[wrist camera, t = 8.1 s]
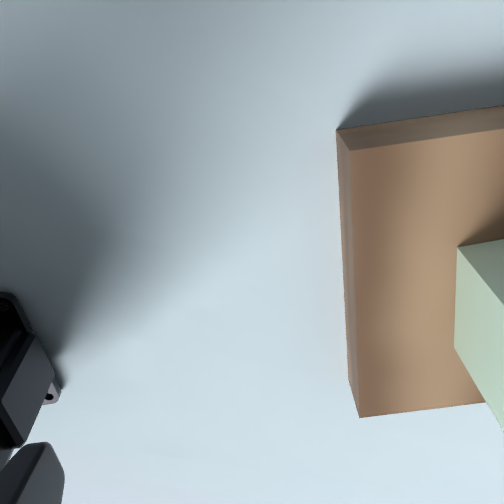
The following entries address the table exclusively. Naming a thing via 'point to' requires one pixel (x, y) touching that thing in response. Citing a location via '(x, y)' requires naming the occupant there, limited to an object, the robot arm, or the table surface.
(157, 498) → the table surface
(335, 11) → the table surface
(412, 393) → the walnut base
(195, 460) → the table surface
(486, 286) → the sage block
